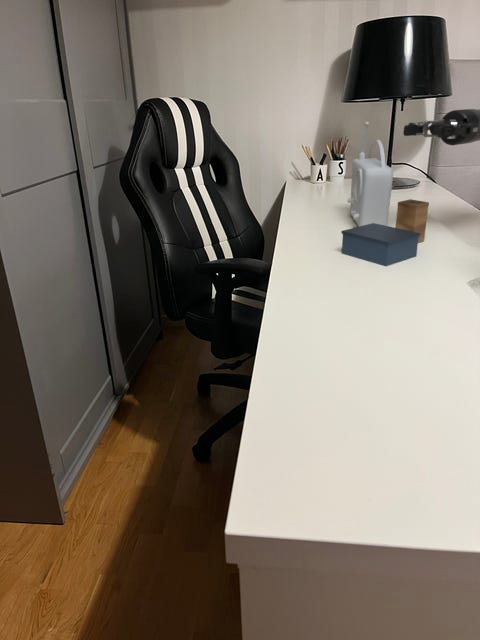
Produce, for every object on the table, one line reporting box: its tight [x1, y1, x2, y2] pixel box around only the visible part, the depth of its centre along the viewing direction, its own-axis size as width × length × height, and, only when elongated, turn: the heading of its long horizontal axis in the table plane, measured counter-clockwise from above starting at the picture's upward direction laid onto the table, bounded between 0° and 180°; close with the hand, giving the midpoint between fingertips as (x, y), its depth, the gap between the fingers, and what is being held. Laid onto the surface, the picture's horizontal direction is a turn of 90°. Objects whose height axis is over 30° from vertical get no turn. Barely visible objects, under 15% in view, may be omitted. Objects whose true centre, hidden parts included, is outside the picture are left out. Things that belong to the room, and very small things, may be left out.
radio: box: [347, 121, 394, 227], centre depth 129 cm, size 22×8×25 cm, turn 177°
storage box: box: [341, 223, 420, 267], centre depth 107 cm, size 12×10×5 cm
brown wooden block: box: [395, 198, 430, 244], centre depth 115 cm, size 5×5×9 cm
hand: (422, 131), depth 107 cm, fingers open, 8 cm apart
